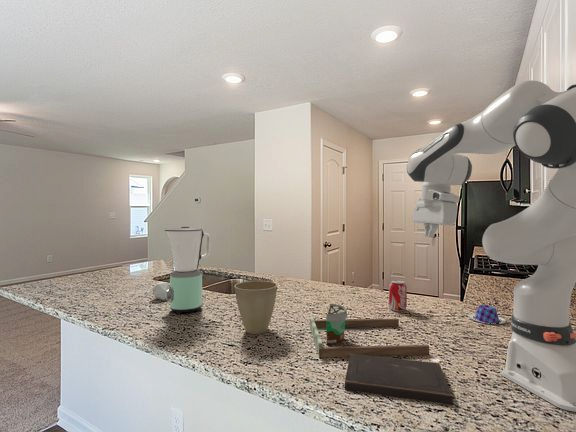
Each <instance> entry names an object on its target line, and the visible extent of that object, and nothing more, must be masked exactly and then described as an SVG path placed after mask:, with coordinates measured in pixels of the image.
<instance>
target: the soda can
mask: <svg viewBox="0 0 576 432" xmlns="http://www.w3.org/2000/svg"><path fill="white" fill-rule="evenodd" d="M407 288H408V287H407V284H406V281H405V280H402V279H391V280H390V283H389V286H388V308H389V309H390V310H392V311H394V312H397V313H398V312H404V311H406V310H407V306H408V305H407V303H408V302H407V298H408V296H407V295H408V293H407V290H408V289H407Z"/></svg>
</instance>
